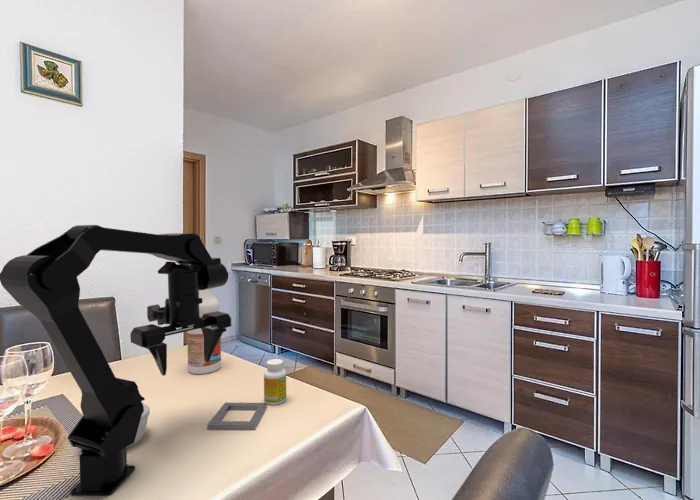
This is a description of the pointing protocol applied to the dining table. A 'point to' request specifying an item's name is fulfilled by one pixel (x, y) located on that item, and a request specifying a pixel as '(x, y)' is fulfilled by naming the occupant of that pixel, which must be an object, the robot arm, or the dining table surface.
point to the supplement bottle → (275, 382)
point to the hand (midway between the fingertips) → (186, 367)
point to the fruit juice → (197, 339)
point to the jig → (237, 425)
